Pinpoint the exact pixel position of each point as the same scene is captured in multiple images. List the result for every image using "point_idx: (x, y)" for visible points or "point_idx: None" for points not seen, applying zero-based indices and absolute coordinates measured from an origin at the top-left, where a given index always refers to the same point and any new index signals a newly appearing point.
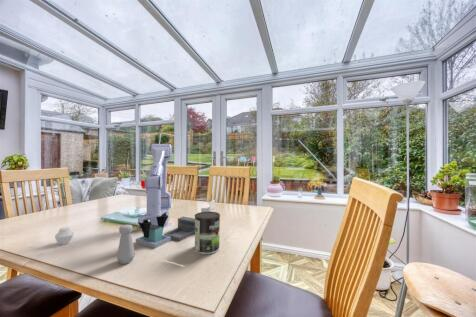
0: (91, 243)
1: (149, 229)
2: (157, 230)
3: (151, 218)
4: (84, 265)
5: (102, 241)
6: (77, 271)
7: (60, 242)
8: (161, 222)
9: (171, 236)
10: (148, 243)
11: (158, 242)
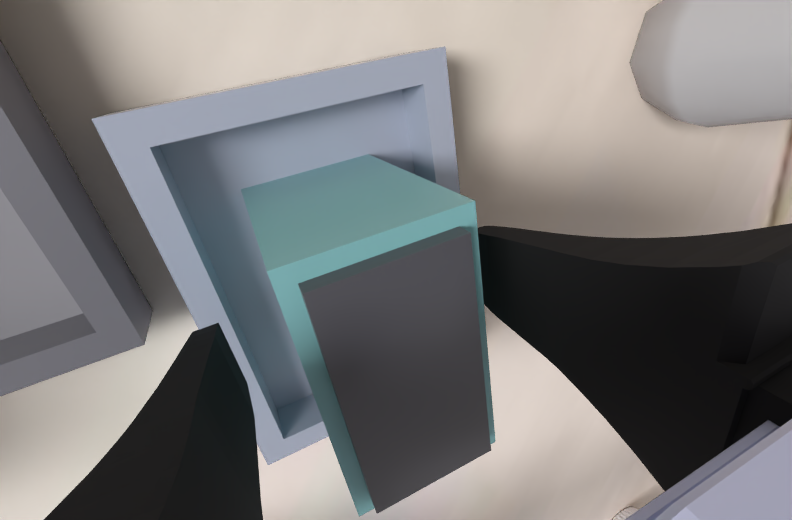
0: (579, 475)
1: (480, 336)
2: (411, 211)
3: (657, 511)
4: (738, 214)
5: (541, 481)
6: (780, 167)
7: None
8: (218, 478)
9: (49, 175)
10: (451, 182)
11: (388, 65)
